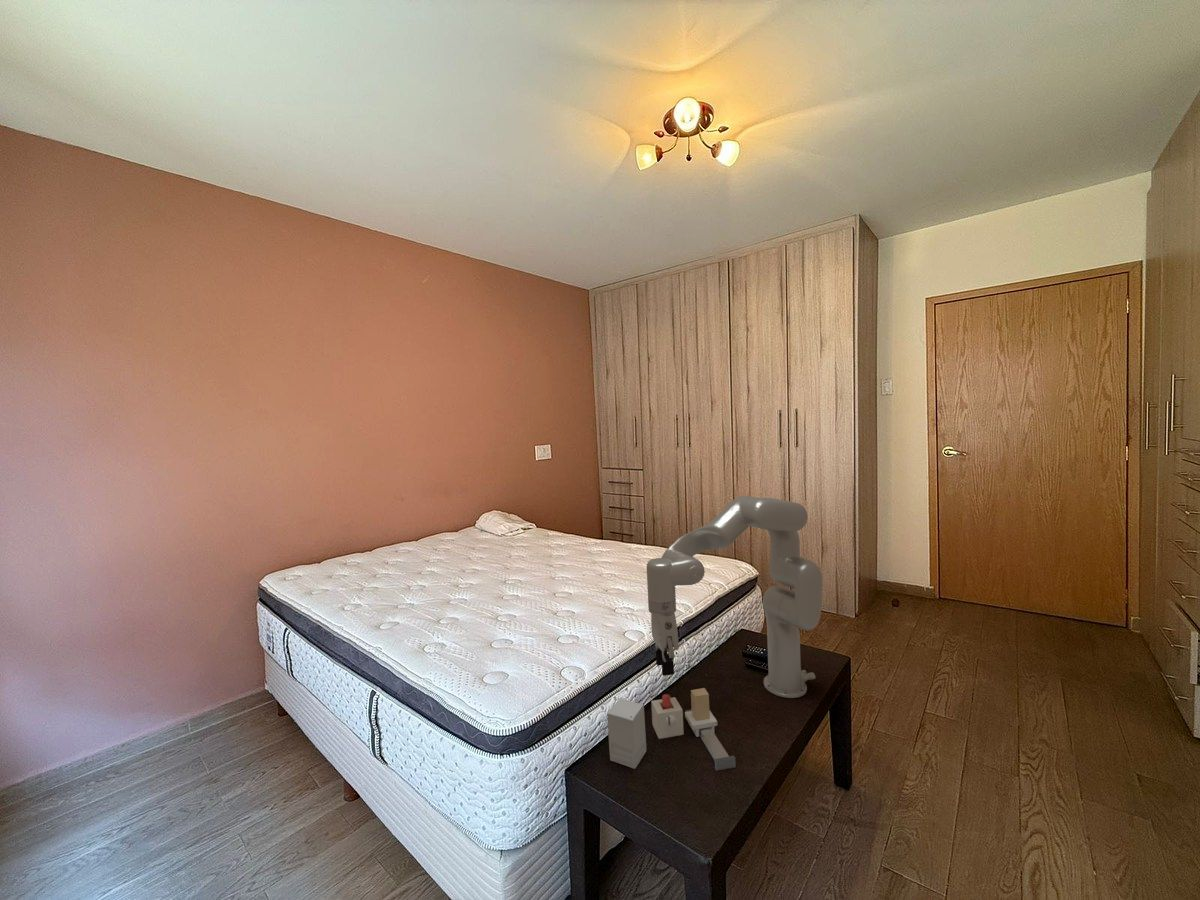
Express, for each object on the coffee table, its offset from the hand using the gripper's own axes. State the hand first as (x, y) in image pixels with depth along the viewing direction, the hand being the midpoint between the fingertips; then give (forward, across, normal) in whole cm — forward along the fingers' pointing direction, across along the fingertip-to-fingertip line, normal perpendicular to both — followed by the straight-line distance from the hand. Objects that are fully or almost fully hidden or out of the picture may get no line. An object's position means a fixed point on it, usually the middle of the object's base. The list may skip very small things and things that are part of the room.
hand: (665, 668), depth 126 cm
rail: (+17, -7, -9) cm, 21 cm away
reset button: (+13, 0, 0) cm, 13 cm away
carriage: (+17, -2, -9) cm, 19 cm away
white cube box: (+17, 0, 0) cm, 17 cm away
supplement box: (+18, -7, +13) cm, 23 cm away
